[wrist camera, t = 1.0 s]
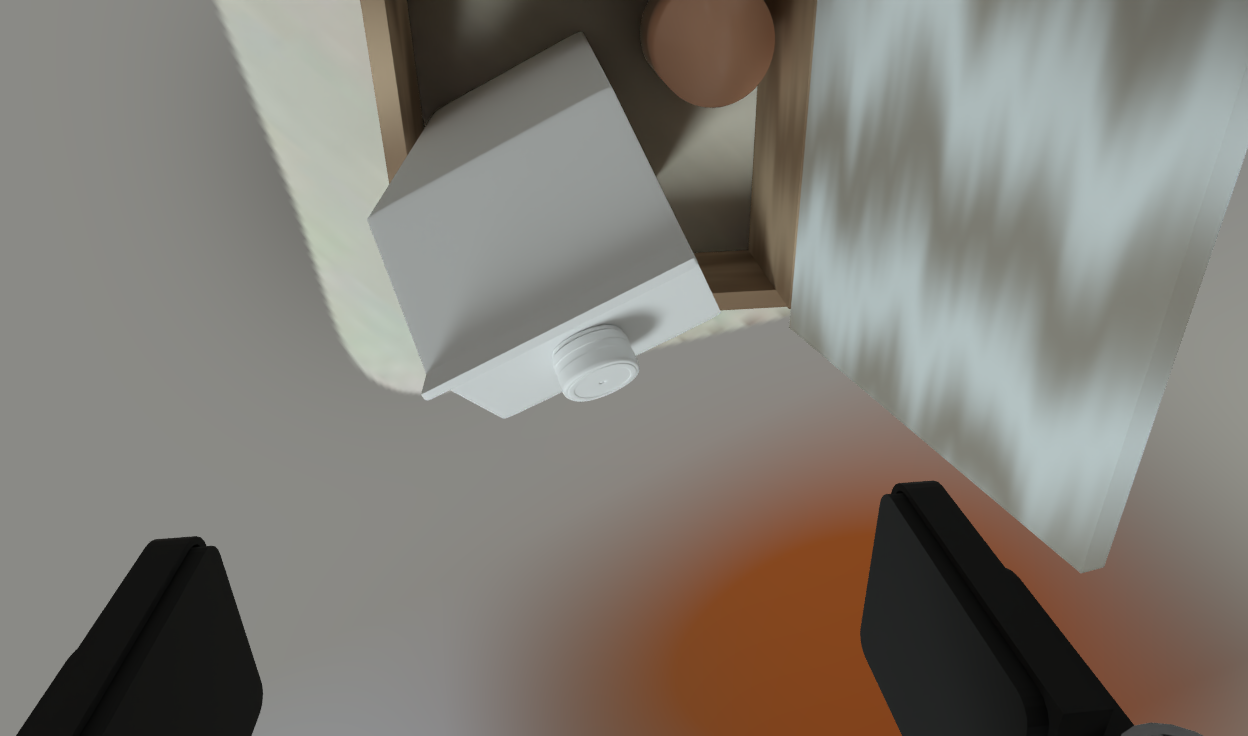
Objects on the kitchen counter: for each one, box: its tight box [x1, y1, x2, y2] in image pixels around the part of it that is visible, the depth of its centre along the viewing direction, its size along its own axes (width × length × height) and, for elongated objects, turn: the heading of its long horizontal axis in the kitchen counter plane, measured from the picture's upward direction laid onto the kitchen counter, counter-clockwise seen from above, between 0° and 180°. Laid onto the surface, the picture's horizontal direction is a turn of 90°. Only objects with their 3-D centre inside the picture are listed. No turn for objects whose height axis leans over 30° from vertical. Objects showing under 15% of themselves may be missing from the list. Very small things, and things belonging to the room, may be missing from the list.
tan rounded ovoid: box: [640, 0, 775, 108], centre depth 31 cm, size 4×4×5 cm
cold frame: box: [360, 0, 1248, 573], centre depth 25 cm, size 14×19×22 cm
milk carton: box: [367, 32, 721, 418], centre depth 27 cm, size 7×7×19 cm
